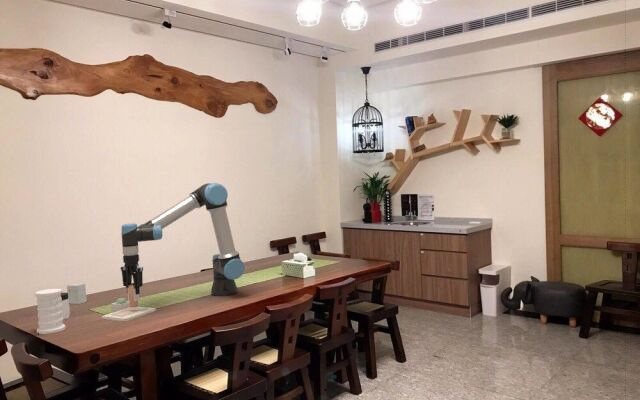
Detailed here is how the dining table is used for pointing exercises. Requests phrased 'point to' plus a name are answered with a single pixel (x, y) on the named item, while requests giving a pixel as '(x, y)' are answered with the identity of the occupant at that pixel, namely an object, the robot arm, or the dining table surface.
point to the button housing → (120, 306)
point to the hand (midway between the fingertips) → (133, 300)
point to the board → (128, 313)
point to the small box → (76, 293)
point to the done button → (121, 300)
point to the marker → (132, 296)
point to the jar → (65, 305)
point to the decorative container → (49, 311)
